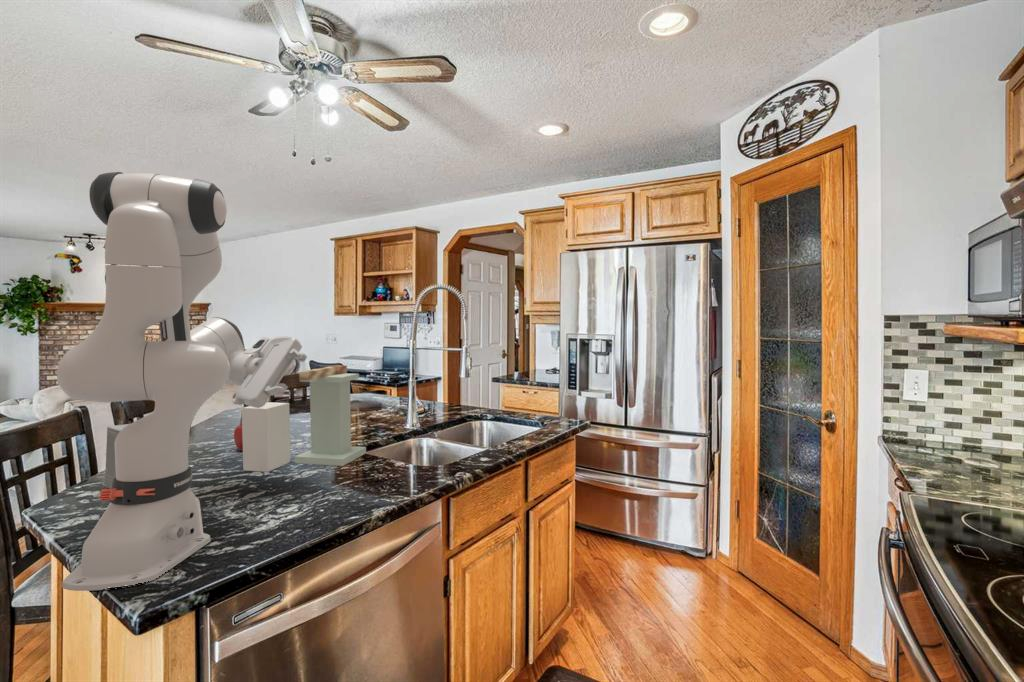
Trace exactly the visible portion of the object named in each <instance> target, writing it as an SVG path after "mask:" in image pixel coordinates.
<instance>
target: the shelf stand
mask: <svg viewBox="0 0 1024 682" xmlns="http://www.w3.org/2000/svg"><path fill="white" fill-rule="evenodd" d="M359 379H360V373H348V372H347V373H344V374H339V375H332V376H327V377H322V378H317V379H312V380H299V382H304V383H305V382H307V383H308V382H309V402H310V403H309V404H310V405H309V408H310V409H309V411H310V412H309V413H310V415H309V416H310V449H308V450H306V451H304V452H301V453H299V454H297V455H295V456H293V457H294V459H293V460H294V464H300V465H301V464H304V465H305V464H307V465H317V466H318V465H323V466H337V467H338V466H339V467H340V466H341V467H344V466H345V465H348V464H349V463H351V462H352V461H355V460H357V459H358V458H360V457H362V456H363V455H365V454H367V446H354V445H352V435H351V434H352V430H351V429H352V427H351V424H352V422H351V420H352V419H351V418H352V417H351V381H354V380H359Z"/></svg>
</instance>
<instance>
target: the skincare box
mask: <svg viewBox="0 0 1024 682" xmlns="http://www.w3.org/2000/svg"><path fill="white" fill-rule="evenodd" d="M129 424H130V423H127V424H118V425H115V424H114V425H109V426H107V427H106V429H107V430H106V451H105V474H104V475H105V476H104V488H105V489H111V486H112V483H113V479H114V478H115V477H116V469H115V444H114V442H115V439H116V436H117V435H118V433H119V432H120V431H121V430H122V429H123V428H124V427H126V426H128V425H129Z"/></svg>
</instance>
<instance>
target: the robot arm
mask: <svg viewBox="0 0 1024 682" xmlns="http://www.w3.org/2000/svg"><path fill="white" fill-rule="evenodd" d="M223 194H224V193H223V192H222V191H221V189H220V188H218V187H217V185H216V184H214V183H212V182H210V181H207V180H203V179H198V178H194V179H191V178H190V179H189V178H186V177H185V178H183V177H179V176H171V175H162V174H160V173H149V172H146V173H145V172H132V173H131V172H129V173H128V172H127V173H125V172H124V173H123V172H122V171H114V172H113V171H111V172H106V173H104V172H103V173H100V174H98V176H96V177H95V178H94V180H93V181H92V182H91V184H90V188H89V202H90V205H91V208H92V210H93V212H94V214H95V215H96V217H97V218H98V220H100V221H101V222H102V223H103V224H104V225H106V232H105V242H104V267H105V270H104V271H105V299H104V301H105V303H104V309H103V312H102V316H101V318H100V321H99V322H98V324H97V326H96V327H95V328H94V330H92V332H91V333H90V334H89V335H88V336H87V337H86V338H84V339H83V340H82V341H80V342H79V343H78V344H76V345H75V346H73V347H71V348H70V349H68V351H67V352H65V354H64V355H63V356H62V357H61V358H60V361H59V363H58V365H57V369H56V379H57V383H58V385H59V387H60V388H61V389H62V391H63V393H64V394H66V395H67V396H68V397H69V398H71V399H72V400H74V401H76V400H77V401H83V402H84V401H85V402H95V403H107V404H108V403H120V402H122V403H123V402H134V401H137V402H138V401H154V409H153V411H152V412H151V413H150V414H148V415H146V416H143V417H141V418H139V419H137V420H134V421H133V422H131V423H128V424H129V425H128V426H126V427H124V428H123V429H122V430H121V431H120V432H119V433H118V435H117V436H116V439H115V442H114V444H115V469H116V477H115V478H114V479H113V483H112V486H111V489H109V488H102V489H101V490H100V492H99V496H98V498H99V500H100V501H101V502H103V501H108V502H109V504H108V506H107V508H106V509H105V510H104V512H103V514H102V516H101V517H100V518H99V520H97V523H96V524H95V526H94V527H93V529H92V530H91V532H90V534H89V535H88V536H87V538H86V539H85V540H84V543H83V545H82V548H81V549H82V550H81V562H80V564H79V565H77V566H76V568H74V569H73V570H72V571H71V572H70V574H68V575H67V576H66V577H65V578H64V579H63V580H62V582H61V583H62V584H61V588H62V589H64V590H67V591H74V592H76V591H78V592H88V591H89V592H90V591H102V590H103V589H105V588H108V587H115V586H125V585H133V584H134V585H133V586H136V585H135V584H138V583H142V584H145V583H144V582H146V583H149V582H152V581H156V580H157V579H159V578H160V577H161V576H163V575H164V574H166V573H167V572H169V571H170V570H172V569H173V568H174V567H175V566H177V565H178V564H180V563H182V562H183V561H185V560H186V559H187V558H188V557H190V556H192V555H193V554H195V553H196V552H197V551H199V550H200V549H202V548H203V547H205V546H206V545H207V544H209V543H210V542H212V541H211V535H210V534H208V533H205V532H204V527H203V519H202V512H201V511H202V510H201V502H200V499H199V498H198V497H197V496H196V495H195V494H194V492H193V490H192V489H191V486H192V485H193V480H192V478H193V472H192V467H191V466H189V443H190V431H191V426H192V424H193V421H194V418H195V416H196V415H197V412H199V409H201V407H202V406H203V405H204V403H206V401H207V400H209V398H211V397H212V396H213V395H215V394H216V393H218V392H219V391H220V390H221V389H222V388H223V387H224V386H225V385H229V386H231V385H237V386H239V387H238V388H237V390H236V392H234V394H233V395H232V404H234V405H238V406H241V405H246V406H247V407H248V406H251V407H256V408H260V407H262V406H264V405H265V404H266V402H268V401H269V399H270V397H271V396H272V397H273V396H274V395H277V394H279V393H286V391H287V390H288V388H289V386H288V385H287V384H286V383H281V380H282V379H283V377H284V376H285V374H286V373H287V371H288V369H289V368H290V366H291V365H292V363H293V361H294V360H295V359H297V361H298V362H299V363H301V362H304V363H305V361H306V360H307V358H308V356H307V355H306V354H305V353H304V352H300V351H301V349H303V345H302V344H301V342H300V341H299V340H298V338H296V337H295V336H275V337H273V338H272V337H271V338H269V337H267V336H262V337H261V338H260V339H259V340H258V341H257V342H256V343H255V344H253V345H252V346H250V348H248V349H246V348H245V344H244V338H243V335H242V333H241V330H240V329H239V328H238V326H237V325H236V324H234V322H232V321H230V320H228V319H226V318H222V317H218V316H213V317H211V318H209V319H207V320H205V321H204V322H202V323H200V324H198V325H196V326H195V327H194V328H192V329H191V324H190V316H189V312H190V309H191V306H192V304H193V302H194V300H195V299H196V297H198V295H199V294H201V292H202V291H203V290H204V289H205V288H206V287H207V286H208V285H209V284H210V283H212V281H214V280H215V278H216V277H217V276H218V275H219V273H220V271H221V269H222V262H223V256H222V250H221V246H220V241H219V237H218V234H217V233H218V231H219V230H220V229H222V228H223V226H224V225H225V222H226V217H227V212H228V211H227V203H226V201H225V197H224V195H223ZM156 324H159V331H160V338H161V339H160V340H161V341H160V340H159V341H157V340H155V341H154V340H153V341H151V340H145V339H146V338H145V334H146V331H147V329H149V328H150V327H152V326H154V325H156ZM168 570H169V571H168ZM165 572H166V573H165ZM162 574H163V575H162ZM159 576H160V577H159ZM156 578H157V579H156ZM148 581H149V582H148ZM138 585H139V584H138ZM105 590H106V589H105ZM103 591H104V590H103Z"/></svg>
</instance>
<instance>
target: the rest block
mask: <svg viewBox="0 0 1024 682" xmlns="http://www.w3.org/2000/svg"><path fill="white" fill-rule="evenodd" d="M290 412H291V411H290V402H273V401H272V402H271V401H267V402H266V404H265V405H264V406H262V407H260V408H256V407H251V406H248V405H247V406H244V407H241V425H242V439H243V450H242V468H243V469H242V471H247V472H249V471H250V472H260V473H261V472H265V473H269V472H271V471H273V470H276V469H278V468H280V467H282V466H284V465H287V464H289V463H290V462H291V461H292V459H291V458H292V457H291V423H290V422H291V421H290V415H291V414H290Z"/></svg>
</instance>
